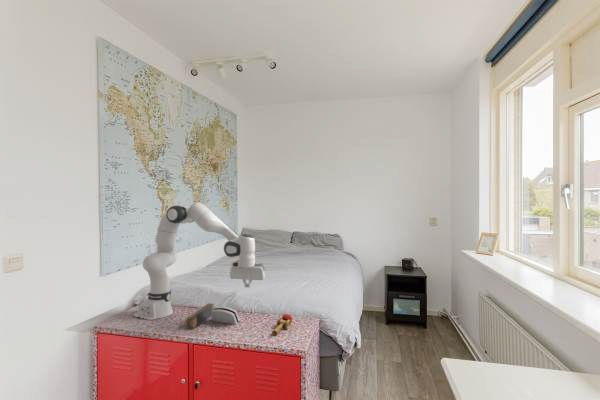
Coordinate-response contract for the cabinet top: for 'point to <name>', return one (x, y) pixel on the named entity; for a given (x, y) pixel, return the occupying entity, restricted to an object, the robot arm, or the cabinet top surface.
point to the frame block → (195, 318)
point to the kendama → (282, 323)
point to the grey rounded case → (225, 315)
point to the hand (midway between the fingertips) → (247, 287)
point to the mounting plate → (204, 315)
